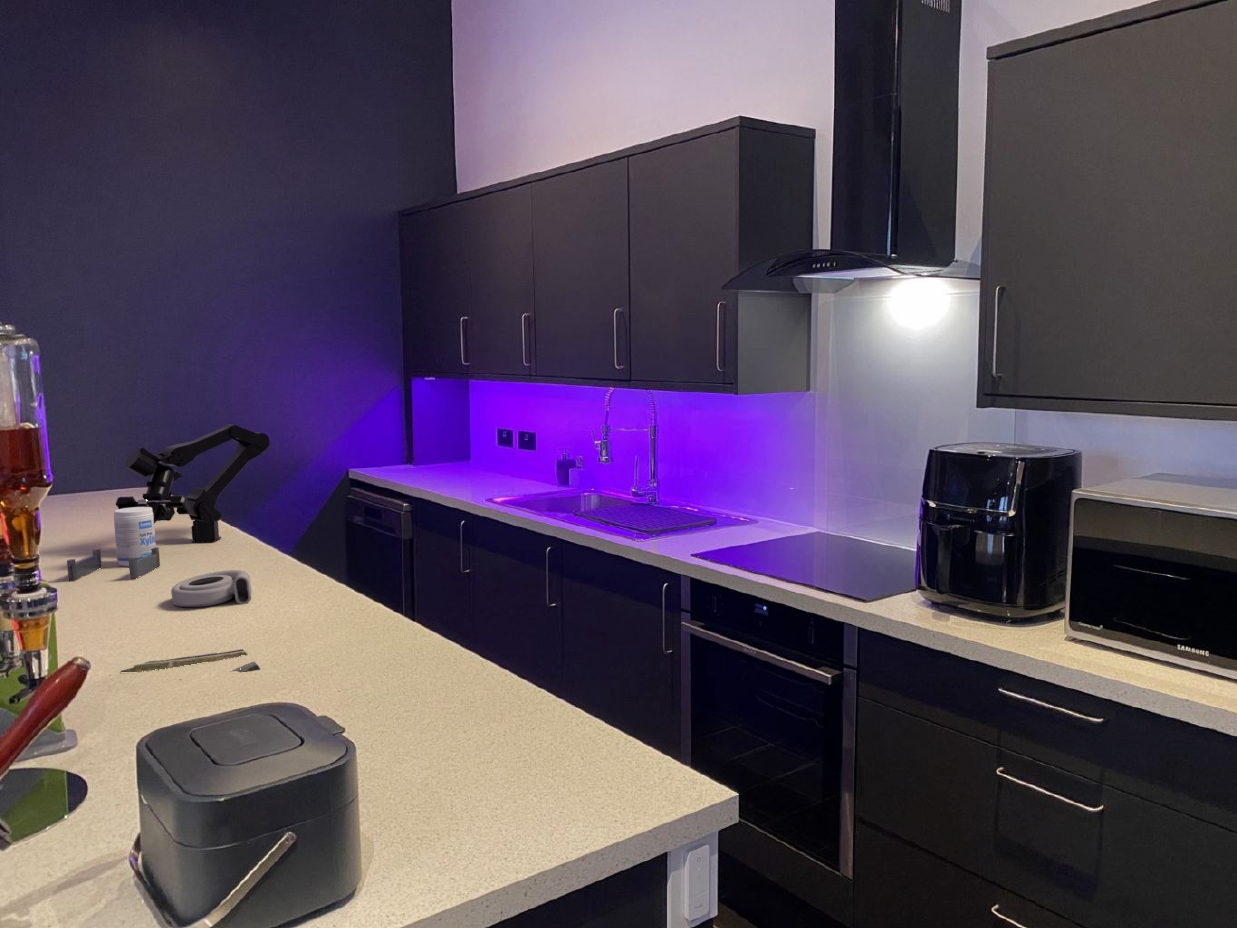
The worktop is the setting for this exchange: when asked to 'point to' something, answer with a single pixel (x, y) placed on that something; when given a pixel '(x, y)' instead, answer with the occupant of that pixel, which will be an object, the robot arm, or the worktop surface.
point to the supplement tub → (134, 533)
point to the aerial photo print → (193, 662)
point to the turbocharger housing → (213, 589)
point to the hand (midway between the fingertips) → (145, 530)
